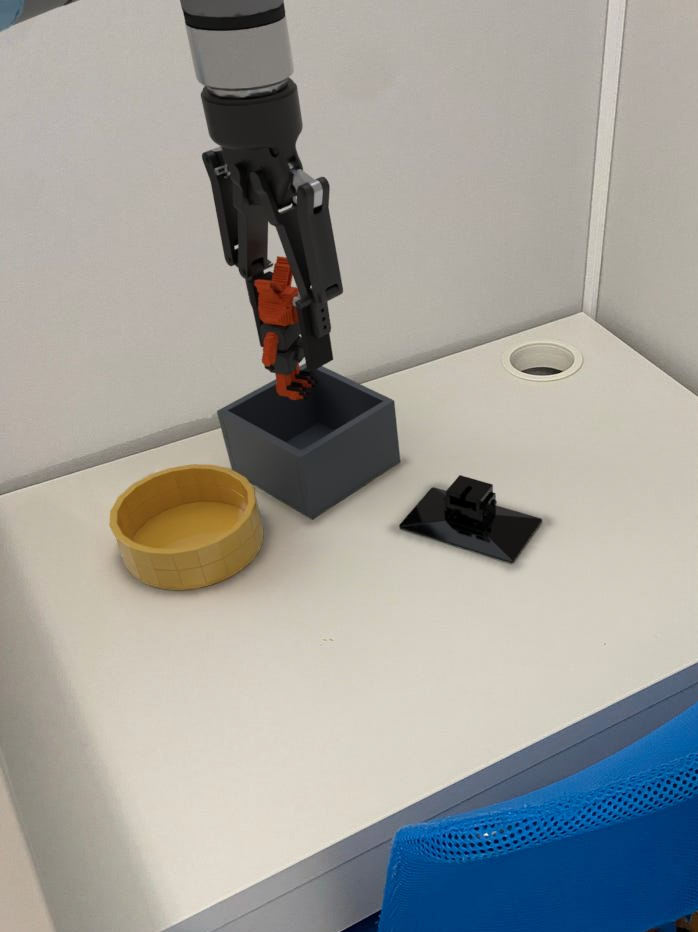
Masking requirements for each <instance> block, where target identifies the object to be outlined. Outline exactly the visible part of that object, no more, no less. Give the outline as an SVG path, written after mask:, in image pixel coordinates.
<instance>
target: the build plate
mask: <svg viewBox="0 0 698 932" xmlns="http://www.w3.org/2000/svg"><path fill="white" fill-rule="evenodd" d="M496 499H497V493H496V492H494V484H492V483H489V482H486V481H483V480H479V479H475V478H471V477H469V476H465V475H462V474H459V475H458V476H457V477H456V478H455V479H454V481H453V482H452V483H451V484H450V486H448V488H447V489H446V490H445V489H441V488H438V487H434V486H433V487H431V488H429V490H428V491H427V492H426V493H425V494H424V495H423V497H422V498H421V499H420V500H419V502H418V503H417V504H416V505H415V506H414V507H413V508H412V509H411V510H410V512H409V513H408V514H407V515H406V517H404V519H403V520H402V521H401V522H400V523H399V525H398V528H399V530H401V531H404V532H407V533H411V534H413V535H417V536H421V537H425V538H427V539H430V540H434V541H436V542H440V543H442V544H446V545H450V546H453V547H455V548H458V549H462V550H466V551H468V552H471V553H475V554H478V555H482V556H485V557H488V558H491V559H494V560H498V561H501V562H504V563H508V564H510V565H511V564H514V563H515V562H516V560H517V559H518V557H519V556H520V555H521V554H522V552H523V551H524V549H525V548H526V546H527V545H528V543H529V542H530V541H531V539H532V538H533V536H534V535H535V534H536V532H537V531H538V529H539V528H540V526H541V525H542V524H543V519H542V518H541V517H538V516H534V515H530V514H528V513H524V512H520V511H517V510H513V509H510V508H507V507H503V506H500V505H497V503H498V501H497V500H496Z"/></svg>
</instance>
